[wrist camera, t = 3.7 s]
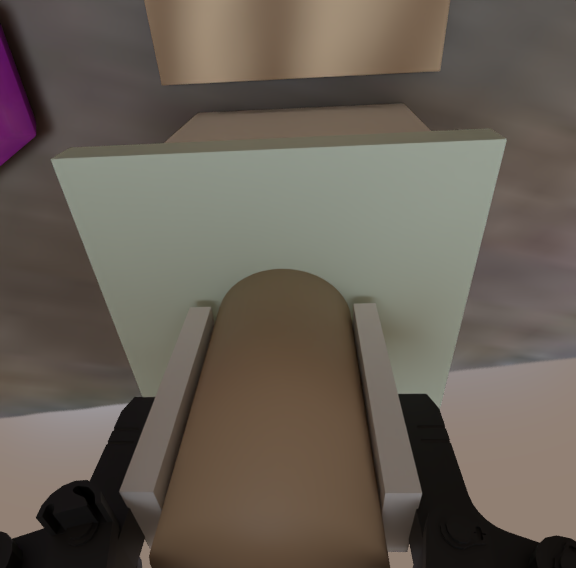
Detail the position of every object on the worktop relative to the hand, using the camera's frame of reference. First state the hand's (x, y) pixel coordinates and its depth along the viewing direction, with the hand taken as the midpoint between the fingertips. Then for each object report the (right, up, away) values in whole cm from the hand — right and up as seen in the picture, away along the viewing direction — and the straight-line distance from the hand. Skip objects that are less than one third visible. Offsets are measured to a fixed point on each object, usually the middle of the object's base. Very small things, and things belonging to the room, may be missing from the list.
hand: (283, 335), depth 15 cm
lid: (0, +1, +1) cm, 2 cm away
